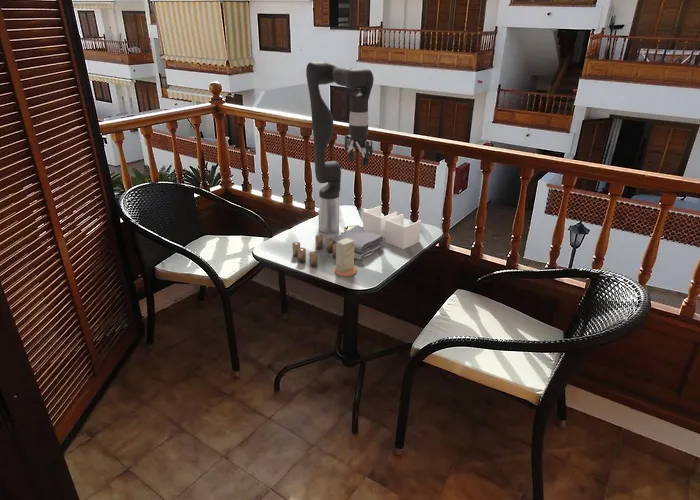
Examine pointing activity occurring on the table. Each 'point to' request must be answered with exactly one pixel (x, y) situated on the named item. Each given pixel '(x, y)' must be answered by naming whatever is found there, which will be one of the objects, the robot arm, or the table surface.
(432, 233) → the table surface
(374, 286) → the table surface
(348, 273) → the tan oval piece
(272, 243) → the table surface
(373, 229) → the storage container
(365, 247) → the towel
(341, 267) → the skincare box
